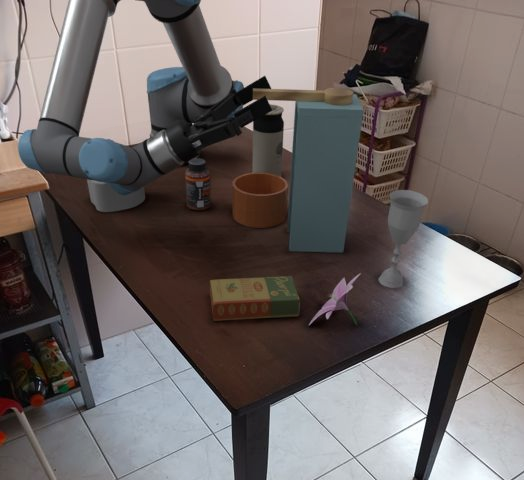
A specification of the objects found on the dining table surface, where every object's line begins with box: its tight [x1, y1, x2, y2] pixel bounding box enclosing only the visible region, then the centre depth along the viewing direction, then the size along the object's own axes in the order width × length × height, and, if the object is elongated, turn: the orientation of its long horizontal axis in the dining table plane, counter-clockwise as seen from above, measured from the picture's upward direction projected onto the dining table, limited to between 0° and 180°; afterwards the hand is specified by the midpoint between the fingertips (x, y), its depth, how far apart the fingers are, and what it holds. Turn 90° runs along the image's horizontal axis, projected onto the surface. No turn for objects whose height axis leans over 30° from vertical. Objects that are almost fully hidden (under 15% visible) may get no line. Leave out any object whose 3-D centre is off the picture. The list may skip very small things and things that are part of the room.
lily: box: [308, 272, 362, 326], centre depth 98 cm, size 12×12×10 cm
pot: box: [231, 172, 289, 229], centre depth 129 cm, size 13×13×8 cm
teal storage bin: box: [286, 93, 365, 253], centre depth 113 cm, size 10×12×30 cm
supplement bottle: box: [184, 158, 212, 211], centre depth 131 cm, size 6×6×11 cm
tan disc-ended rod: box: [252, 87, 354, 105], centre depth 103 cm, size 19×6×2 cm, turn 90°
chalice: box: [378, 189, 429, 289], centre depth 105 cm, size 7×7×18 cm
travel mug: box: [251, 103, 285, 177], centre depth 143 cm, size 8×8×18 cm
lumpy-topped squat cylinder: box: [86, 179, 146, 213], centre depth 133 cm, size 10×13×9 cm
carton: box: [209, 275, 301, 322], centre depth 101 cm, size 8×16×4 cm, turn 98°
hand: (268, 92), depth 102 cm, fingers open, 13 cm apart
